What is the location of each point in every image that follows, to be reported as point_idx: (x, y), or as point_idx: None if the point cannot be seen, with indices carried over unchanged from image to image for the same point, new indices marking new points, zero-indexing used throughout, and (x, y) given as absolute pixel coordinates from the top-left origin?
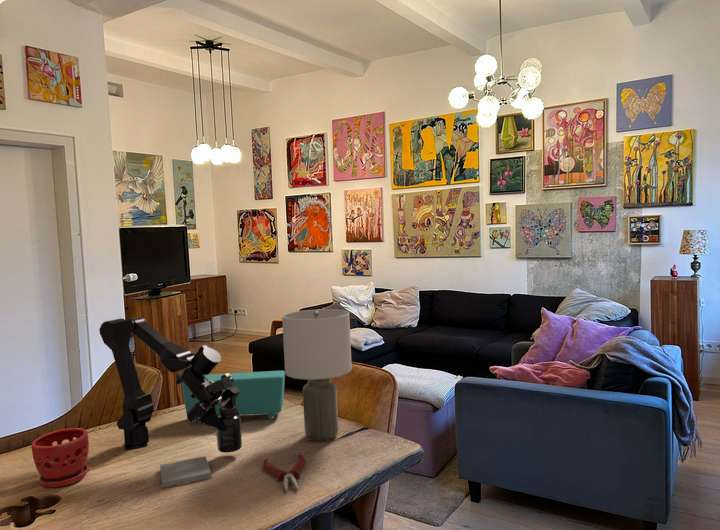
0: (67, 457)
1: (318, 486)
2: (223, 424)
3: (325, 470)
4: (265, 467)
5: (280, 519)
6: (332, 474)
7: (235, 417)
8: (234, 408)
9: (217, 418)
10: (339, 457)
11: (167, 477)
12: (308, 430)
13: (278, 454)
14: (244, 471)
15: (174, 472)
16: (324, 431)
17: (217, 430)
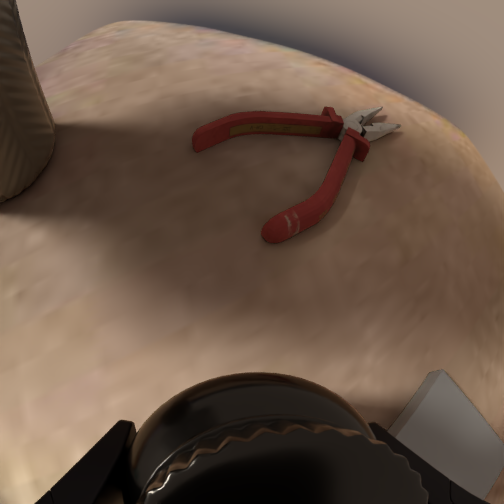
0: None
1: (336, 87)
2: (393, 451)
3: (255, 85)
4: (331, 202)
5: (454, 127)
6: (271, 73)
7: (278, 404)
8: (305, 428)
9: (458, 491)
10: (170, 79)
11: (491, 471)
12: (27, 154)
13: (161, 233)
14: (349, 288)
15: (465, 487)
16: (49, 109)
17: None
